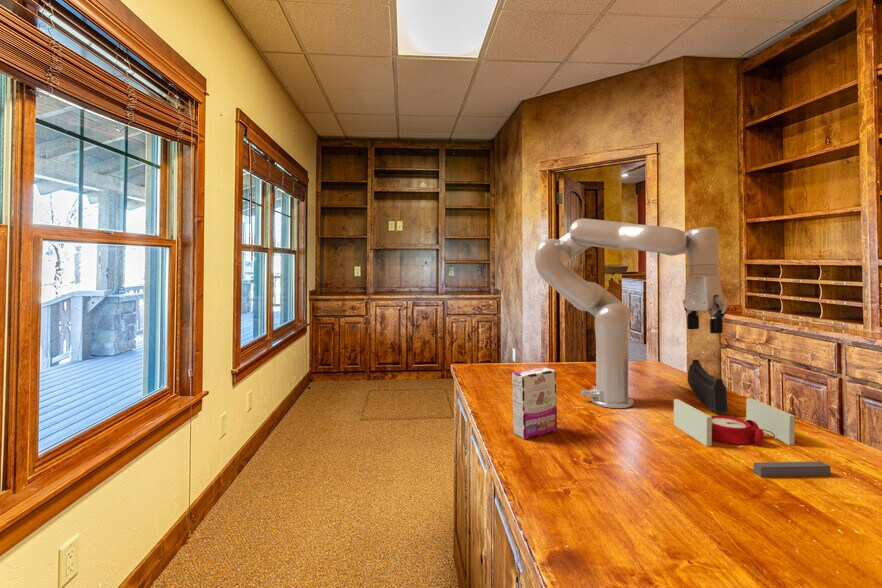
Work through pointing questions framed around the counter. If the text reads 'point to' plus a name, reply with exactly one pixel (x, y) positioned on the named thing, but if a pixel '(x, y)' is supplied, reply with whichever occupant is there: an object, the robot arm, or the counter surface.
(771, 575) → the counter surface
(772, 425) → the shelf bay
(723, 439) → the alarm clock
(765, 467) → the rail
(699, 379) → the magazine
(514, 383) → the candy bar box
